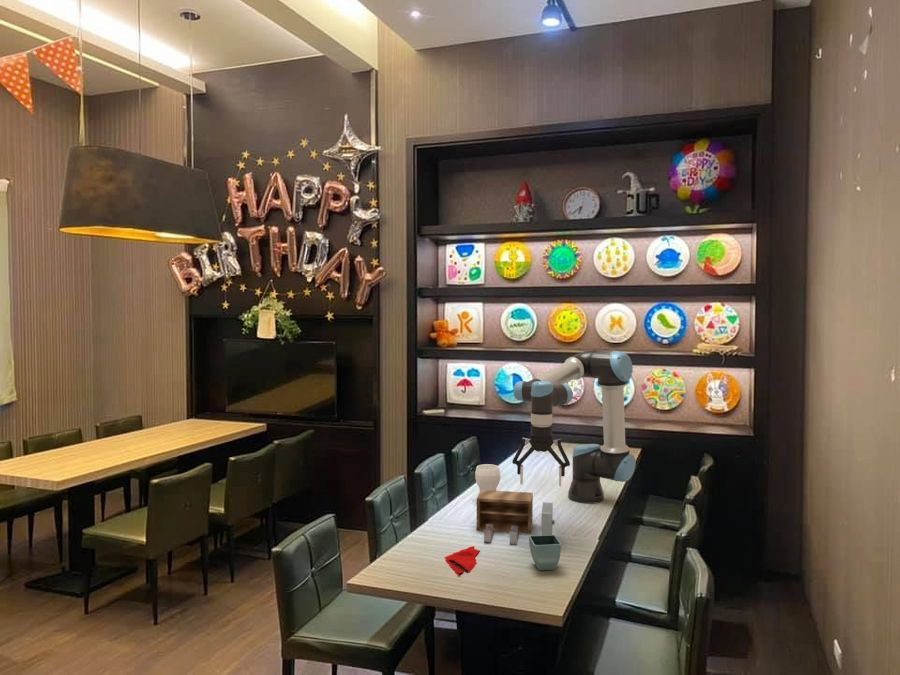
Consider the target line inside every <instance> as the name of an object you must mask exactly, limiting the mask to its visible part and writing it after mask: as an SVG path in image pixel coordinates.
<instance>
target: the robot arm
mask: <svg viewBox="0 0 900 675" xmlns="http://www.w3.org/2000/svg"><path fill="white" fill-rule="evenodd" d="M633 368H634V367H633V363H632V360H631V357H630V356H629V355H628V353H626V352H624V351H617V350H599V349H598V350H597V349H590V350H586V351H582V352H579V353H576V354H574V355H572V356H570V357H567V359H565V360H564V363H562V364H560V365H558V366H556V367H554V368H552V369H550V370H548V371H546V372H544V373H542V374H540V375H538V376H537V377H535V378H532V379H530V380H529V381H525V380H522V381H521V380H520V381H517V382H516V383H515V384H514V386H513V390H512V392H513V397H514V398H515V400H518V401H520V402H524V403H525V402H526V403H531V406H530V407H531V408H530V409H531V410H530V424H531V426H530V438H526V437H525V436H524V437H522V438H521V444H520V445H519V448H518V449H517V451H516V453H515V455H514V457H513V459H512V461H511V462H512V464H514V465H516V466H517V467H516V468H517V470H516V472H517V475H519V476H520V480H519V481H520V483H519V484H520V485H524V484H523V482H524V473H523V472H524V464H523V463H524V462H525V461H526V460H527V459H528V458H529V456H530V455H531V454H532V453H533V452H535V451H536V452H543V453H546V452H548V453H549V454H550V455H551V456H552V457H553V458H554V460H555V461H556V462H557V463H558V465H559V466H558V487H562V477H565V474H566V473H565V471H566V469H565V468H567V467H570V465H571V462H570V460H569V458H568V456H567V454H566V452H565V449H564V447H563V446H562V440H561V438H557V439H554V438H553V426H552V425H553V407H554V408H555V407H559V406H565V405H567V404H569V403H570V402H571V401H572V400H573V397H574V393H573V389H572V388H571V386H569V385H568V384H567V383H569V382H571V381H573V380H574V381H576V380H579V379H582V378H589V379H597V386H599V387H600V388H601V401H602V404H601V405H602V427H603V428H602V429H603V445H601V444H598V443H587V444H586V443H584V444H579V445H576V446H574V447H573V449H572V456H571V457H572V480H571V483H570V486H569V487H568V488H569V489H568V491H567V492H568V493H567V497H568V499H569V500H571V501H573V502H575V503H581V504H582V503H583V504H598V503H601V502H603V501H604V500H605V493H604V490H603V486H602V484H601V479H606V480H610V481H614V482H622V483H625V482H628V481H629V480H630V479H631V478H632V476H633V474H634V472H635V469H636V465H637V464H636V463H637V462H636V457H635V455H633V454H632V453H630V447H629V446H628V445H627V444H626V428H625V426H626V425H625V422H626V421H625V420H626V419H625V396H624V388H625V387H626V386H627V384H628V381H630V380H631V378H632V374H633V371H634V370H633ZM528 443H529V444H530V445H531V446H530V447H529V449H528V450H527V451H526V452H525V453H524V454H523V455H522V457H521V458H520V456H521V453H522V452H523V450H524V448H525V446H526V445H528ZM553 444H554V445H555V446H556V447H557V448H558V450H559V452H560V454H561V456H562V459H563V460H564V461H563V460H562V459H561V458H560V457H559V455H558V454H557V453H556V452H555V451H554V449H553V448H552V446H553ZM519 458H520V459H519Z"/></svg>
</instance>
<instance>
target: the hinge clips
mask: <svg viewBox="0 0 900 675" xmlns="http://www.w3.org/2000/svg"><path fill="white" fill-rule="evenodd" d="M495 532H496V531H495V530H493V524H486V529H484V531H483V543H486V544H491V543H492V541H493V538H494V534H495ZM519 534H520V533H519V532H518V526H515V525H511V531H510V532H509V545H515V546H517V545H518V539H519Z"/></svg>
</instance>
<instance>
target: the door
mask: <svg viewBox="0 0 900 675" xmlns="http://www.w3.org/2000/svg"><path fill="white" fill-rule="evenodd" d="M553 509H554V505H553V502H544V501H543V502H542V506H541V517H540V519H541V521H540V522H541V527H540V528H541V531H540V532H541V534H540V535H553V526H554V525H555V523H556V522H555V520H553Z"/></svg>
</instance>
